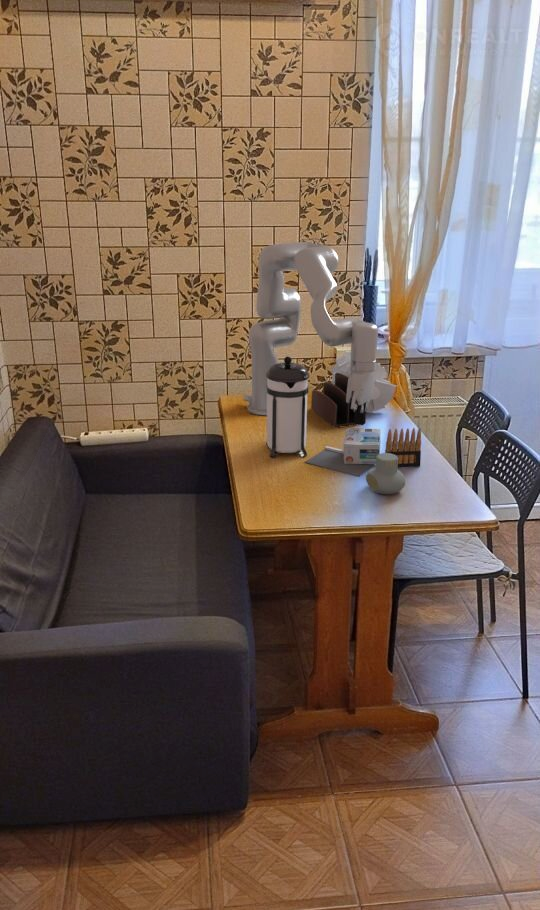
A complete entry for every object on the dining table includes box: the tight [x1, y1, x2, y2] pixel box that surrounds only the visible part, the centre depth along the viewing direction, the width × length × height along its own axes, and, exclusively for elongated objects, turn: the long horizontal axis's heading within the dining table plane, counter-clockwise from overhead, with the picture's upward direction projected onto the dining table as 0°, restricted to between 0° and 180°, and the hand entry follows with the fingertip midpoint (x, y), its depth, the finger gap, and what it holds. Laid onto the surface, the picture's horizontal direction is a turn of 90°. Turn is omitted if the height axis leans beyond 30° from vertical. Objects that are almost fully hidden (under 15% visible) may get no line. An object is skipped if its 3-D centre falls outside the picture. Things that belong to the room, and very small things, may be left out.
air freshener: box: [365, 452, 406, 495], centre depth 209 cm, size 11×8×10 cm
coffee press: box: [265, 356, 310, 459], centre depth 232 cm, size 17×16×30 cm
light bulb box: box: [343, 427, 381, 465], centre depth 229 cm, size 11×7×11 cm
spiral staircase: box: [330, 351, 398, 414], centre depth 275 cm, size 18×18×25 cm
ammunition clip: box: [384, 427, 422, 469], centre depth 224 cm, size 11×2×12 cm, turn 97°
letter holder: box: [310, 373, 358, 428], centre depth 263 cm, size 10×20×14 cm, turn 21°
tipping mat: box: [304, 445, 376, 477], centre depth 229 cm, size 18×13×1 cm
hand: (359, 423), depth 233 cm, fingers closed
